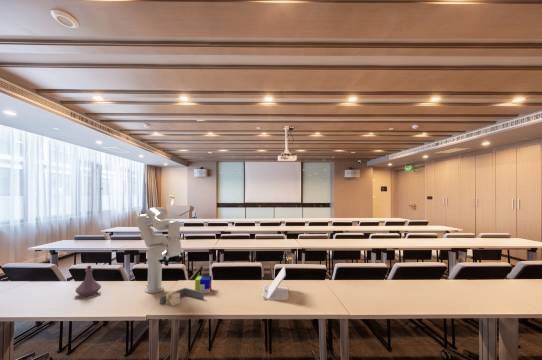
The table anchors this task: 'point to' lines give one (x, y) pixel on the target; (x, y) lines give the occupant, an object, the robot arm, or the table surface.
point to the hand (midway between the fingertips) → (172, 263)
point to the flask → (88, 284)
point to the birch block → (172, 298)
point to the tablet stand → (276, 288)
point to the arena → (185, 292)
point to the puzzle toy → (203, 284)
